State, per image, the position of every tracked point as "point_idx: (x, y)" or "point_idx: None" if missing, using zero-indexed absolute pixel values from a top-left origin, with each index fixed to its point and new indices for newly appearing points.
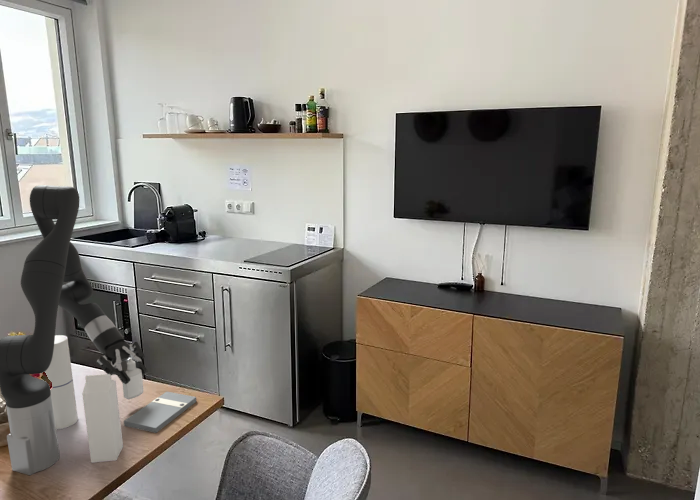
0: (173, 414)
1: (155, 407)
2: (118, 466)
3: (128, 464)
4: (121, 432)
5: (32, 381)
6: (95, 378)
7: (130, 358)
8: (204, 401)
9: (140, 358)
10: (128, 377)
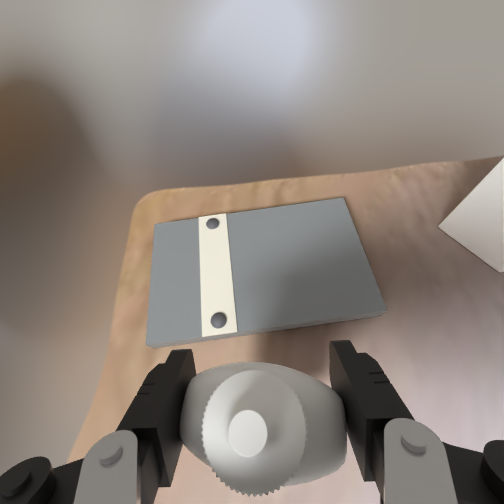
0: (265, 208)
1: (261, 284)
2: (479, 178)
3: (456, 168)
4: (467, 195)
5: None
6: None
7: (257, 420)
8: (153, 216)
9: (65, 485)
10: (340, 351)
